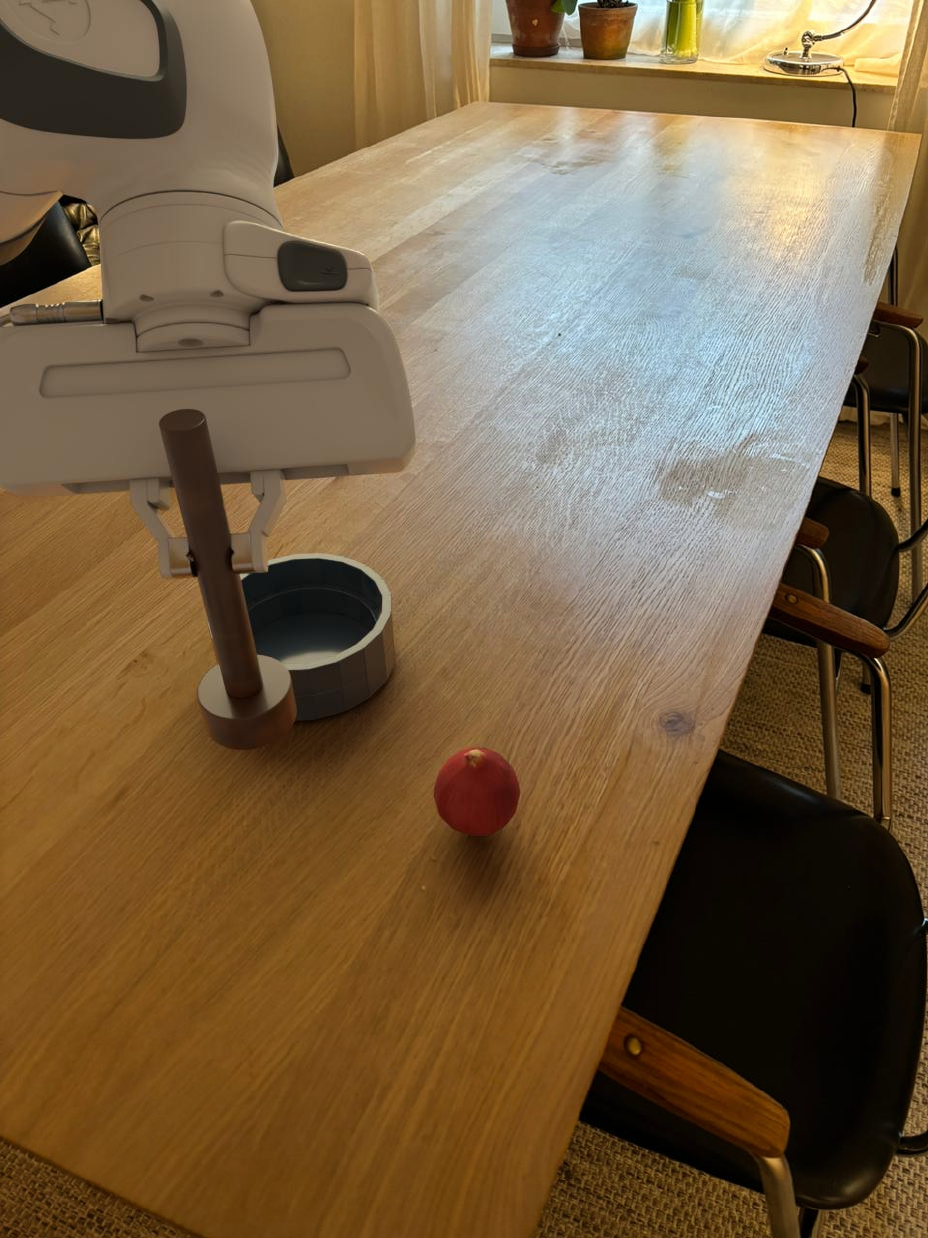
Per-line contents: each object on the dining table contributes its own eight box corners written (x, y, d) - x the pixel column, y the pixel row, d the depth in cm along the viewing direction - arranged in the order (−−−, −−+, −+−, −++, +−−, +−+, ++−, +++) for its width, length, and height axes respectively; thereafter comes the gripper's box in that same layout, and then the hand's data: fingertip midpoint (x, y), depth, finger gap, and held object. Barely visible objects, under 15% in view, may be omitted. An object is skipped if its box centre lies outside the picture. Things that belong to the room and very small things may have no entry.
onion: (463, 782, 73) (461, 706, 68) (533, 813, 71) (536, 737, 65) (421, 838, 69) (415, 762, 64) (492, 873, 67) (492, 797, 62)
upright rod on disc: (213, 761, 52) (129, 459, 40) (198, 698, 56) (116, 404, 44) (306, 735, 53) (251, 435, 41) (286, 675, 57) (229, 383, 45)
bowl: (239, 747, 76) (225, 691, 72) (207, 630, 87) (194, 576, 83) (419, 697, 80) (415, 641, 76) (368, 591, 90) (362, 537, 86)
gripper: (-51, 279, 45) (-37, 583, 44) (402, 253, 46) (426, 549, 45) (6, 331, 51) (19, 598, 50) (403, 307, 52) (424, 567, 51)
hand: (215, 575), depth 47 cm, fingers closed on upright rod on disc
